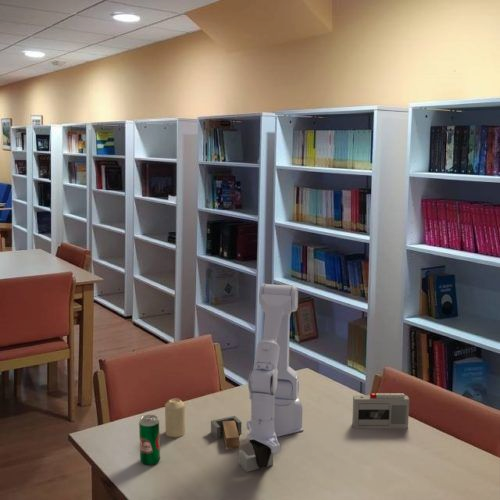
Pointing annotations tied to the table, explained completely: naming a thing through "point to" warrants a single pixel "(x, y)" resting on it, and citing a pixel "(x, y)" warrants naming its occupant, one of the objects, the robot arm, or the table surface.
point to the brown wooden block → (230, 435)
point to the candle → (175, 418)
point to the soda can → (149, 440)
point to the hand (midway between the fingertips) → (262, 466)
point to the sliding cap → (251, 461)
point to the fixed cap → (218, 425)
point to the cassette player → (380, 410)
